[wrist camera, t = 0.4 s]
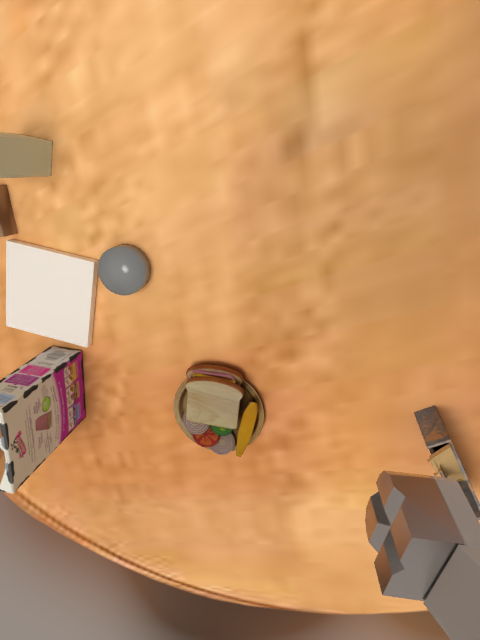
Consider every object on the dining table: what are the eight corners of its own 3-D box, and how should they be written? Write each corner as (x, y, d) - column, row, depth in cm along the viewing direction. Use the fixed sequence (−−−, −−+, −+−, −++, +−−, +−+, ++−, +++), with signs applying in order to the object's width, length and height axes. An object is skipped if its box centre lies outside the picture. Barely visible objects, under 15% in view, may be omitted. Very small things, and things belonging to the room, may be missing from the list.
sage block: (21, 134, 52) (-61, 126, 41) (52, 141, 52) (-22, 134, 41) (20, 169, 54) (-59, 170, 42) (51, 176, 53) (-21, 179, 42)
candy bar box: (49, 344, 61) (-41, 403, 46) (82, 349, 61) (2, 410, 45) (55, 413, 65) (-26, 488, 50) (86, 418, 65) (14, 496, 49)
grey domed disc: (109, 238, 55) (100, 242, 53) (154, 250, 54) (147, 253, 52) (104, 283, 57) (96, 288, 55) (148, 295, 56) (141, 300, 54)
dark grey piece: (409, 411, 56) (426, 459, 47) (433, 403, 55) (455, 450, 46) (442, 480, 58) (464, 539, 49) (465, 474, 57) (492, 532, 48)
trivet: (12, 239, 57) (6, 240, 56) (98, 260, 56) (94, 262, 55) (11, 322, 61) (6, 325, 60) (91, 344, 60) (87, 347, 59)
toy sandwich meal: (169, 430, 63) (157, 450, 59) (187, 348, 58) (176, 363, 54) (252, 457, 62) (246, 479, 58) (278, 376, 57) (274, 394, 53)
